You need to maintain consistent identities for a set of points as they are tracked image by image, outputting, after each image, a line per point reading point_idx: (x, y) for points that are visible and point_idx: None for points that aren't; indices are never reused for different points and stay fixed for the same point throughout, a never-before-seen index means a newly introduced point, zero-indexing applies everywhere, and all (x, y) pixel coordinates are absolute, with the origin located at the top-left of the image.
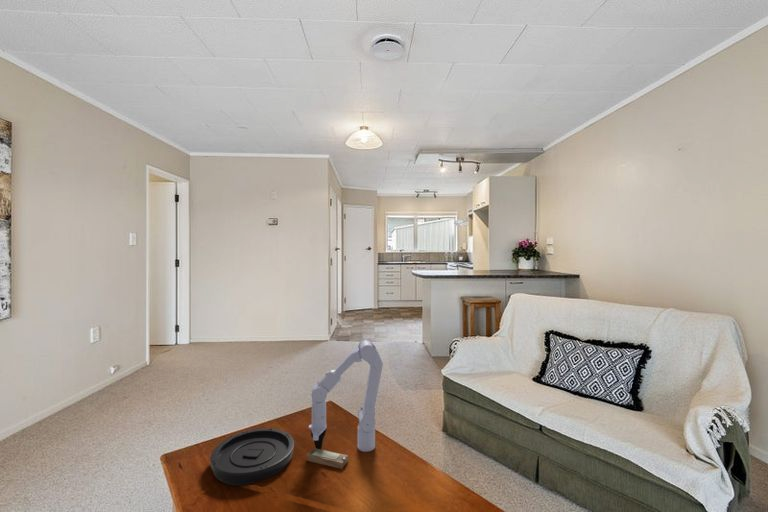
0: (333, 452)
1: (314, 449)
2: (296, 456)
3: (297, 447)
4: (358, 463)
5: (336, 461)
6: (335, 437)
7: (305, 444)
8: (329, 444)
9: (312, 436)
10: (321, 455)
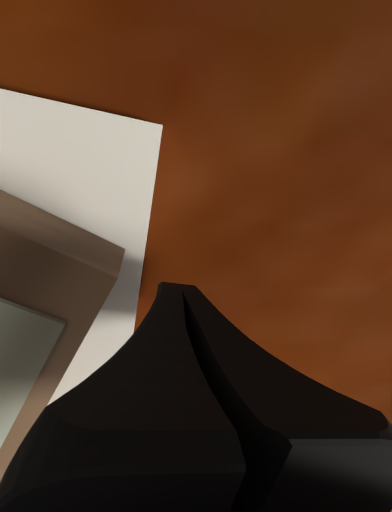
0: (7, 466)
1: (74, 292)
2: (153, 35)
3: (340, 52)
4: None
5: None
6: (354, 382)
7: (360, 152)
8: (280, 352)
9: (42, 429)
10: None
